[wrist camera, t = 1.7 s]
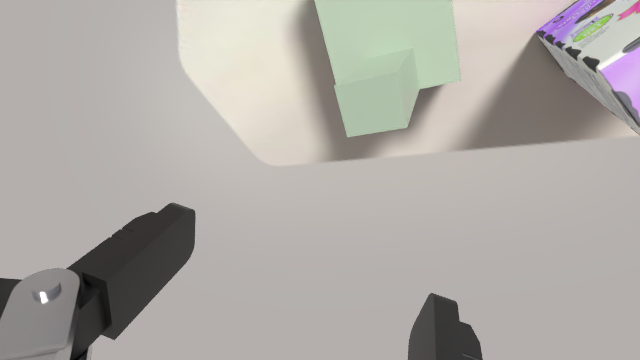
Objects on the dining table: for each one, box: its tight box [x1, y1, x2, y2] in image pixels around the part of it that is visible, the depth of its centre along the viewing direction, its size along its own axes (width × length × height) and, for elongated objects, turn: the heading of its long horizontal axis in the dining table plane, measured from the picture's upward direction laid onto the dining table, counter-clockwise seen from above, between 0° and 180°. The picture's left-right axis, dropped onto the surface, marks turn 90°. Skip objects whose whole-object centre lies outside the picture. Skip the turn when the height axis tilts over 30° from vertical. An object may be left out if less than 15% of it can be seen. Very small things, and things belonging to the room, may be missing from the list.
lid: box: [314, 0, 461, 137], centre depth 24 cm, size 11×15×11 cm
